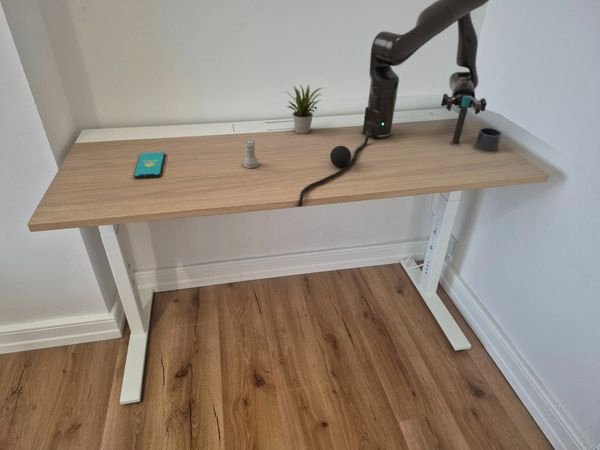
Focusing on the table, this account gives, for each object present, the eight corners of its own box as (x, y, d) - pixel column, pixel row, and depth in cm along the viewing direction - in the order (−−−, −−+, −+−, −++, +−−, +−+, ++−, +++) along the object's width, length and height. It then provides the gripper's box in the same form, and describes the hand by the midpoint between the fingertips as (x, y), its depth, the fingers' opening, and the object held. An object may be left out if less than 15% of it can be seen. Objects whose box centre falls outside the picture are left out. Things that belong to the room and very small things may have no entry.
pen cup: (488, 155, 138) (494, 138, 135) (470, 147, 142) (475, 130, 139) (500, 149, 142) (506, 133, 138) (482, 142, 146) (487, 126, 142)
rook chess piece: (257, 169, 127) (256, 144, 122) (242, 168, 127) (241, 144, 122) (259, 162, 130) (258, 138, 126) (244, 161, 130) (243, 137, 126)
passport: (164, 151, 133) (159, 174, 121) (164, 153, 133) (160, 176, 121) (140, 153, 132) (133, 176, 120) (141, 155, 132) (134, 178, 120)
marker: (455, 146, 143) (468, 98, 133) (449, 143, 145) (461, 96, 135) (459, 144, 144) (472, 97, 135) (454, 142, 146) (466, 95, 136)
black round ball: (355, 144, 132) (348, 145, 123) (355, 164, 134) (349, 167, 124) (335, 145, 134) (327, 146, 125) (336, 165, 136) (328, 168, 126)
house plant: (332, 129, 152) (336, 84, 143) (313, 142, 143) (315, 94, 133) (299, 120, 158) (300, 76, 149) (278, 132, 149) (278, 86, 139)
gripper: (445, 81, 150) (443, 95, 138) (487, 86, 147) (489, 101, 134) (440, 102, 155) (438, 117, 142) (481, 107, 151) (483, 123, 139)
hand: (463, 109), depth 138 cm, fingers open, 8 cm apart
